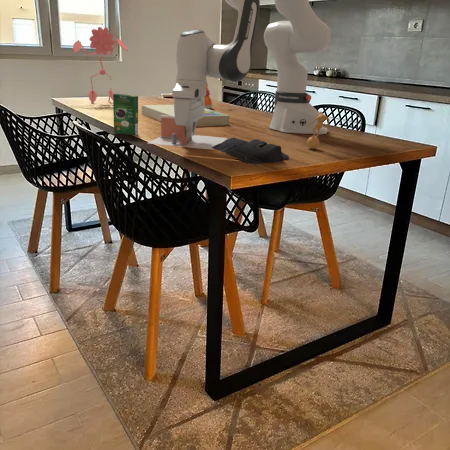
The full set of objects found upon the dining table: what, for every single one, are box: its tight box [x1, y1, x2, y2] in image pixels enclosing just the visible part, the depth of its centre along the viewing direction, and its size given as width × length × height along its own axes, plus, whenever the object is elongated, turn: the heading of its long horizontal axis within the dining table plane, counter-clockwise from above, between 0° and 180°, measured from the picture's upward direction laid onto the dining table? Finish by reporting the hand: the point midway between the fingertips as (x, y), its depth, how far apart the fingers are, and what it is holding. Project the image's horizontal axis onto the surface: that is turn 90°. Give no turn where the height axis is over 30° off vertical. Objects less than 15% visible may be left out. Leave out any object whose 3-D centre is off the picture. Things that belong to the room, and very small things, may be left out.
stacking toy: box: [204, 80, 214, 109], centre depth 224 cm, size 14×14×20 cm
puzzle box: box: [141, 103, 230, 127], centre depth 191 cm, size 36×5×24 cm
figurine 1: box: [72, 26, 129, 107], centre depth 220 cm, size 15×26×35 cm, turn 125°
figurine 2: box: [306, 111, 330, 150], centre depth 143 cm, size 8×6×12 cm
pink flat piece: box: [160, 115, 192, 140], centre depth 148 cm, size 10×2×7 cm, turn 77°
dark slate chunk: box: [212, 137, 290, 165], centre depth 134 cm, size 15×22×5 cm
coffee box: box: [112, 93, 139, 136], centre depth 151 cm, size 8×3×13 cm, turn 75°
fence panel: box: [181, 126, 190, 145], centre depth 142 cm, size 9×1×7 cm, turn 173°
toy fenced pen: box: [147, 134, 228, 151], centre depth 147 cm, size 21×20×4 cm
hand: (190, 136), depth 141 cm, fingers closed
